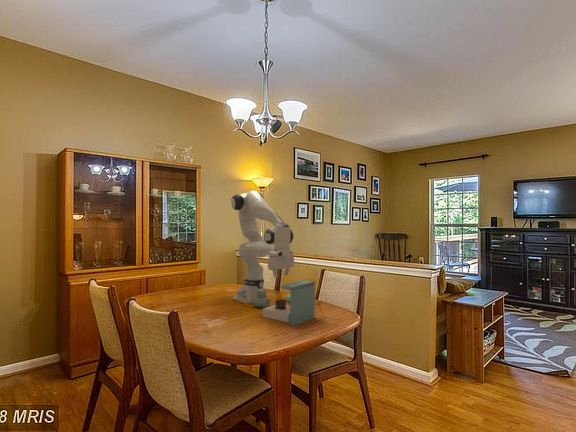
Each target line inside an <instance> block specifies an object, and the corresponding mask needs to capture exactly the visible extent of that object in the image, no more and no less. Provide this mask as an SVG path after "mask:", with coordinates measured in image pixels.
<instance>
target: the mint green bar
mask: <svg viewBox="0 0 576 432" xmlns="http://www.w3.org/2000/svg"><path fill="white" fill-rule="evenodd" d="M285 300H286V301H287V302H288V301H289V302H288V303H290V294H289V293H287V295H286V296H285Z"/></svg>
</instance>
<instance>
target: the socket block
mask: <svg viewBox="0 0 576 432" xmlns="http://www.w3.org/2000/svg"><path fill="white" fill-rule="evenodd" d="M262 317H263V318H267V319H271V320H275V321H280V322H284V323H289V324H290V305H287V304H286V309H283V310H279V309H276V304H274V305H270V306H269V305H268V306H267V307H265V308H262Z"/></svg>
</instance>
